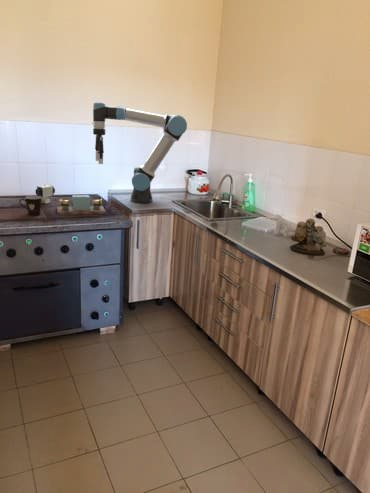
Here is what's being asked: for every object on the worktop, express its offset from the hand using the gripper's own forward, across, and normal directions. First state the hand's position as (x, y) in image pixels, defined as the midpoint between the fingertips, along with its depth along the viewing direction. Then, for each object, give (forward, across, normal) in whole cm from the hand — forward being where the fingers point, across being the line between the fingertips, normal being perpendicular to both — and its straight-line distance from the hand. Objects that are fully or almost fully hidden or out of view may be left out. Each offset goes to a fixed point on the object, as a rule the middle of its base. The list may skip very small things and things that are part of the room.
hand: (99, 162), depth 272 cm
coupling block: (+25, +22, -14) cm, 36 cm away
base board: (+27, +22, -14) cm, 37 cm away
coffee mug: (+27, +26, -42) cm, 56 cm away
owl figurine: (+27, +109, +88) cm, 143 cm away
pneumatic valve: (+27, -1, -34) cm, 43 cm away
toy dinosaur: (+27, +83, +91) cm, 126 cm away
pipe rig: (+25, +22, -14) cm, 36 cm away
